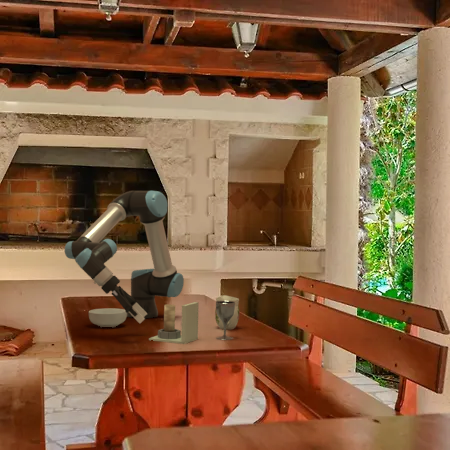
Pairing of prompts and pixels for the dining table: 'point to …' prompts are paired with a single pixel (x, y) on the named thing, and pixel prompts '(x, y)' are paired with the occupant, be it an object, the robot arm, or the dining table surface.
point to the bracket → (188, 327)
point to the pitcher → (235, 318)
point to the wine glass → (225, 315)
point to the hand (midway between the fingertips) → (143, 318)
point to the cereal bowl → (107, 317)
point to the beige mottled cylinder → (169, 318)
